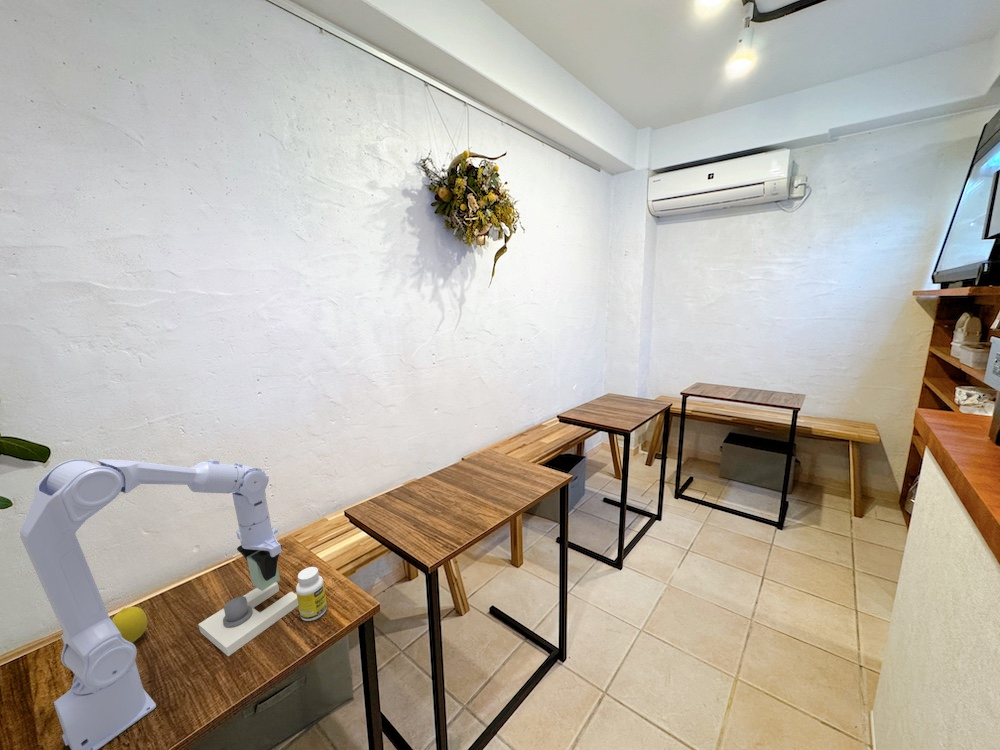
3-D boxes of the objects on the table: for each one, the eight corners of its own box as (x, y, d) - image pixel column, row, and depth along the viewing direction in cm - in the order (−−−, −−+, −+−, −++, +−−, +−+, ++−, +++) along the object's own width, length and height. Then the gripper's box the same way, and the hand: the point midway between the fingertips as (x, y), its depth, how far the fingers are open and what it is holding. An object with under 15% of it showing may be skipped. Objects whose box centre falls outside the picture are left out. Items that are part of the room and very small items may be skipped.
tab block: (261, 590, 85) (256, 562, 83) (252, 584, 87) (246, 556, 85) (280, 579, 88) (274, 551, 87) (270, 573, 90) (265, 546, 89)
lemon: (146, 626, 84) (137, 594, 83) (154, 638, 81) (145, 605, 80) (111, 645, 80) (101, 612, 78) (118, 658, 77) (108, 624, 75)
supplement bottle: (320, 621, 83) (313, 581, 81) (295, 622, 83) (288, 582, 81) (331, 602, 88) (325, 563, 86) (308, 603, 88) (301, 564, 87)
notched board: (228, 656, 76) (222, 632, 75) (200, 632, 82) (194, 609, 81) (300, 603, 88) (297, 582, 87) (271, 586, 95) (267, 566, 93)
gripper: (291, 517, 84) (300, 573, 87) (255, 502, 91) (265, 554, 94) (257, 535, 78) (268, 594, 81) (222, 518, 86) (233, 572, 88)
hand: (264, 574), depth 87 cm, fingers closed on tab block, 4 cm apart
